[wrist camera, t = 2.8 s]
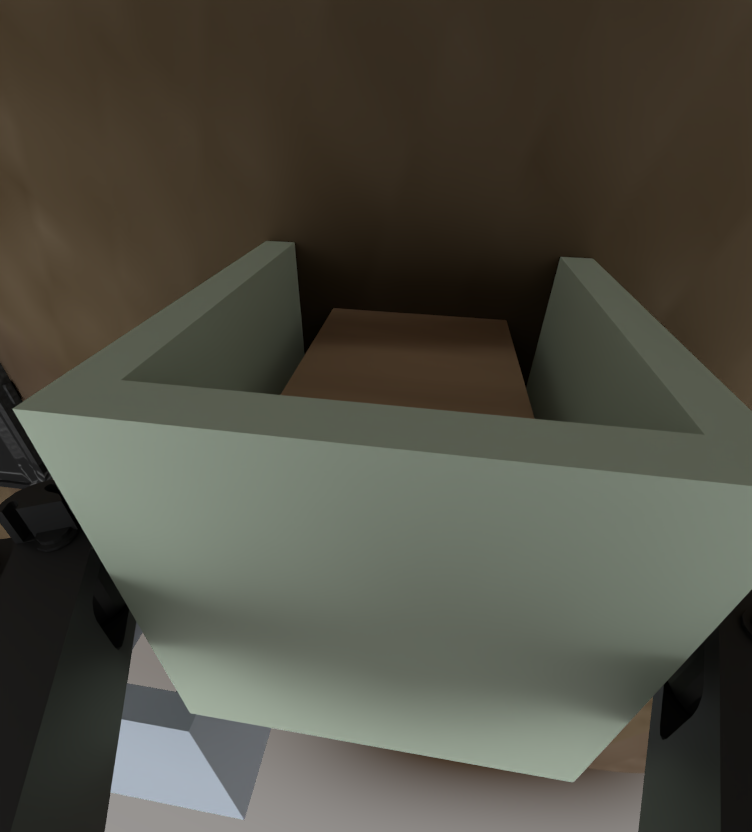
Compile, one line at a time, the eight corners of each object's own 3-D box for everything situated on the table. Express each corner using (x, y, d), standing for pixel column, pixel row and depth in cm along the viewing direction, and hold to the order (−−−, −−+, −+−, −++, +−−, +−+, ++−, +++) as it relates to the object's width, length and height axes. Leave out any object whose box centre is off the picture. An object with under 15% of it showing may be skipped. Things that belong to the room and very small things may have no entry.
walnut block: (333, 307, 12) (278, 397, 8) (506, 319, 12) (535, 420, 8) (339, 438, 15) (300, 553, 11) (478, 453, 15) (489, 578, 11)
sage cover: (266, 240, 12) (11, 409, 5) (593, 258, 11) (837, 494, 4) (295, 471, 17) (190, 713, 10) (520, 497, 16) (573, 782, 9)
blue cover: (98, 472, 18) (-106, 677, 12) (289, 495, 17) (189, 731, 11) (154, 587, 23) (35, 776, 17) (305, 609, 22) (244, 819, 16)
